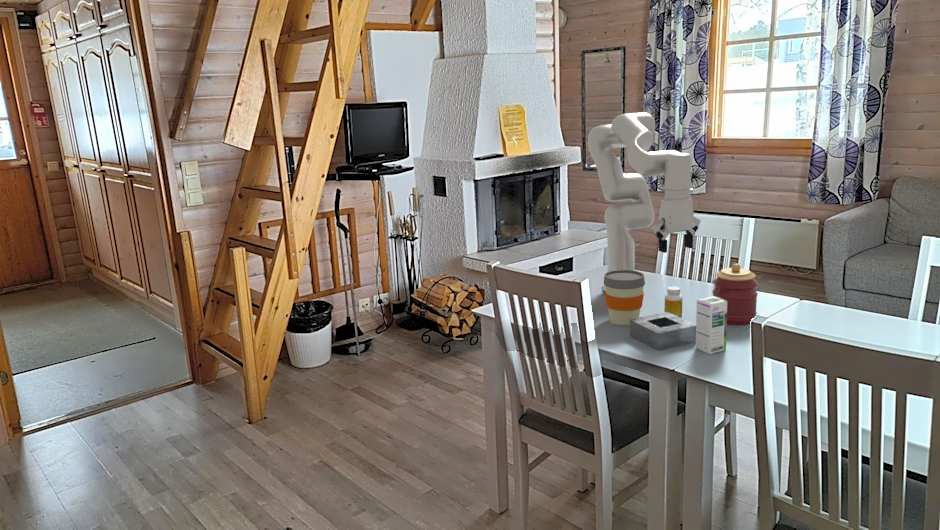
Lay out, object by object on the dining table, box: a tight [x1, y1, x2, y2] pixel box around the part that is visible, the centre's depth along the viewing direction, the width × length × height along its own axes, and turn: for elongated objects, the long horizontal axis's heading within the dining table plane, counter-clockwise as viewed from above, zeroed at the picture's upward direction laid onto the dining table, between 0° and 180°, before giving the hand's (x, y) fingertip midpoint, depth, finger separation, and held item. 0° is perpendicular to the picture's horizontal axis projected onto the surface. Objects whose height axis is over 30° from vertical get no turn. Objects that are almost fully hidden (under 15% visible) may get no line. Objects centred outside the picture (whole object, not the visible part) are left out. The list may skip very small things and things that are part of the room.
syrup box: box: [695, 295, 728, 355], centre depth 181 cm, size 6×6×14 cm
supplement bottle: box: [663, 286, 683, 319], centre depth 208 cm, size 5×5×10 cm
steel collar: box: [629, 311, 696, 351], centre depth 192 cm, size 13×13×5 cm
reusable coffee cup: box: [603, 270, 646, 326], centre depth 207 cm, size 12×13×15 cm
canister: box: [711, 263, 759, 326], centre depth 204 cm, size 13×13×18 cm
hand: (675, 249), depth 204 cm, fingers open, 9 cm apart
